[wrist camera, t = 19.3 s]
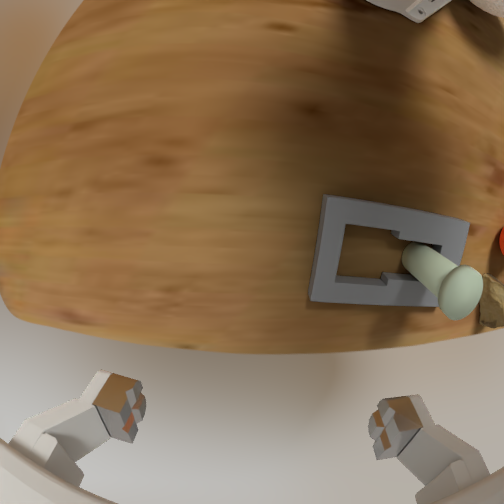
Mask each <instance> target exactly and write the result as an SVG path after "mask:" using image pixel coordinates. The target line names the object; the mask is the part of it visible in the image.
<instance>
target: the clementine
mask: <svg viewBox="0 0 504 504" xmlns="http://www.w3.org/2000/svg"><path fill="white" fill-rule="evenodd" d="M499 243H500V249H501V252H502V254H503V255H504V227H503V229H502V231H501V234H500V239H499Z"/></svg>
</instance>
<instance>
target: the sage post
mask: <svg viewBox="0 0 504 504" xmlns="http://www.w3.org/2000/svg"><path fill="white" fill-rule="evenodd" d="M402 264H403V266H404V268H405V269H407V270H408V271H409V272H410V273H411V274H412V275H413V276H414V277H415V278H417V279H418V280H419V281H420V282H421V283H422V284H423V285H424V286H425V287H426V288H428V289H429V290H430V291H431V292H432V293H433V294H434V295H435V296H436V297H437V298H438V305H439V308H440V309H441V310H442V312H443V313H444V314H445V315H446V316H447V317H448V318H450V319H452V320H459V319H462V318H464V317H466V316H467V315H468V314H470V313H471V312H472V311H473V309H474V308H475V307H476V305H477V304H478V302H479V300H480V297H481V295H482V291H483V279H482V276H481V274H480V273H479V272H477V271H476V270H475V269H473V268H472V267H470V266H468V265H460V266H457V265H456V264H454V263H453V262H451V261H450V260H448V259H447V258H445V257H444V256H442V255H441V254H439V253H438V252H436V251H435V250H433V249H432V248H430V247H428V246H427V245H425V244H424V243H422V242H416V241H414V242H411V243H410V244H408V245H407V246H406V248H405V249H404V251H403V253H402Z"/></svg>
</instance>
